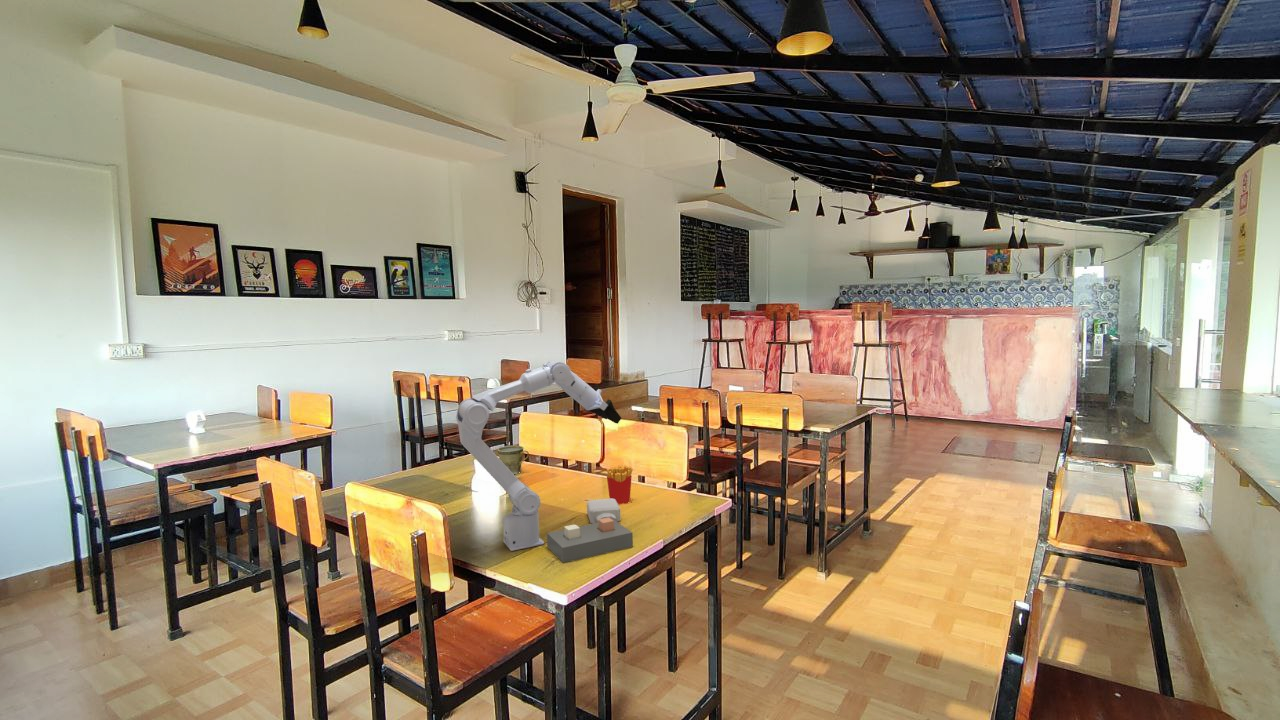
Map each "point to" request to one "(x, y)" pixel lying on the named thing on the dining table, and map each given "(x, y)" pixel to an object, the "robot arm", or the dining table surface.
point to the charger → (603, 510)
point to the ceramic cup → (512, 457)
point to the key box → (589, 542)
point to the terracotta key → (606, 525)
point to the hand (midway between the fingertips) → (613, 418)
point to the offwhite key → (571, 532)
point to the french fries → (619, 483)
